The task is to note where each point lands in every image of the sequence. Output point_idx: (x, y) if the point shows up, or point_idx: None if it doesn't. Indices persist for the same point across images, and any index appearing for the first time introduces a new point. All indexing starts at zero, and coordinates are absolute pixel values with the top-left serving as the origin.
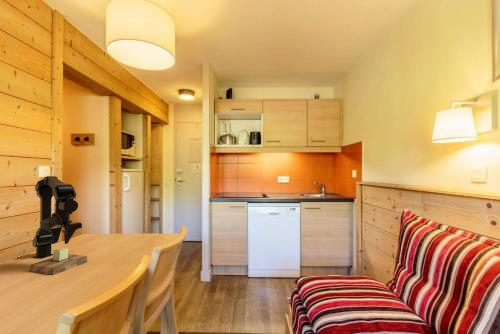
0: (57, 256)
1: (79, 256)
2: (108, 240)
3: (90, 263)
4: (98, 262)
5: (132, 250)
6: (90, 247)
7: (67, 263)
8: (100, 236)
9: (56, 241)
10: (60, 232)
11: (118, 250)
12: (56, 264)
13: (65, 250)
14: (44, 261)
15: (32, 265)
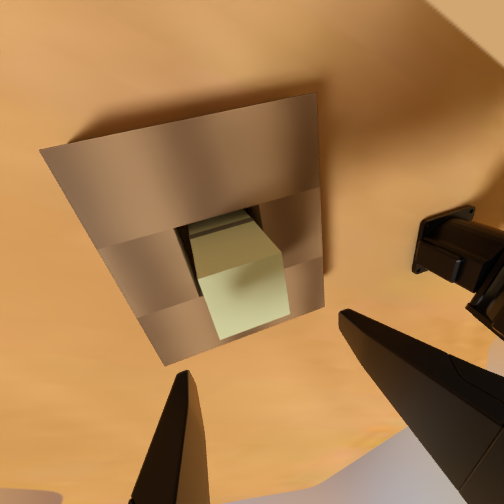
0: (214, 246)
1: (200, 338)
2: (368, 423)
3: (136, 343)
4: (117, 370)
5: None
6: (359, 377)
7: (104, 260)
8: None
9: (346, 328)
10: (437, 461)
11: (225, 438)
12: (137, 203)
13: (212, 316)
14: (293, 181)
15: (294, 97)
